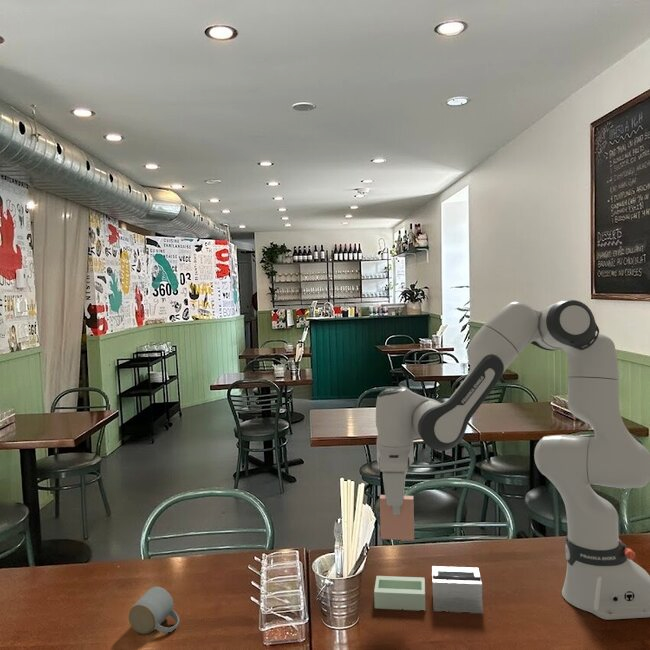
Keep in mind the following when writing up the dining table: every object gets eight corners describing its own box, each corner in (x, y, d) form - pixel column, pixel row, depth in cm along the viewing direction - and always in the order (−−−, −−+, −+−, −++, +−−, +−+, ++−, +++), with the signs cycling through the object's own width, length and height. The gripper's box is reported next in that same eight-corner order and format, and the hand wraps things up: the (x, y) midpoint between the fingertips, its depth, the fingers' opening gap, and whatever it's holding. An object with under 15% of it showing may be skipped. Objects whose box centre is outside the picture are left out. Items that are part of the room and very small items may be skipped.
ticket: (414, 536, 140) (413, 495, 139) (414, 540, 137) (413, 499, 137) (381, 534, 141) (380, 494, 141) (380, 538, 139) (379, 498, 138)
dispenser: (479, 595, 141) (478, 565, 140) (482, 613, 133) (481, 581, 132) (432, 593, 142) (431, 563, 142) (433, 611, 135) (432, 579, 134)
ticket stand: (425, 593, 143) (424, 577, 143) (425, 610, 135) (424, 594, 135) (377, 591, 145) (376, 575, 145) (374, 608, 137) (374, 592, 137)
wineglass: (343, 555, 165) (341, 515, 165) (359, 561, 162) (358, 519, 161) (331, 563, 161) (329, 521, 160) (347, 569, 157) (345, 526, 157)
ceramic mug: (126, 634, 130) (125, 601, 130) (147, 614, 138) (145, 583, 138) (167, 641, 128) (166, 607, 127) (186, 620, 135) (185, 589, 135)
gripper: (384, 443, 149) (386, 495, 150) (379, 466, 129) (381, 526, 129) (409, 443, 148) (410, 496, 149) (407, 466, 128) (409, 527, 128)
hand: (397, 510), depth 139 cm, fingers closed on ticket, 2 cm apart
